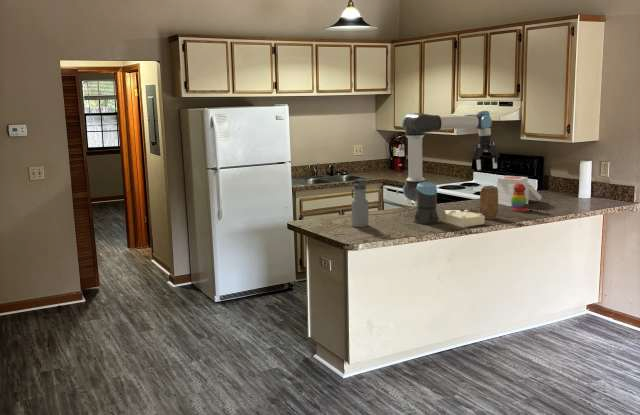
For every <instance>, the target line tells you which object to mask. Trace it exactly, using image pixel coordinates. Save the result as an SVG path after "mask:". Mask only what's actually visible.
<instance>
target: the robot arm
mask: <svg viewBox="0 0 640 415" xmlns="http://www.w3.org/2000/svg"><path fill="white" fill-rule="evenodd" d="M492 123H493V119H492V118H491V115H490V111H489V110H480V111H477V114H463V115H460V116H459V115H456V116H453V115H452V116H441V115H439V114H438V115H437V114H436V115H435V114H428V113H421V112H420V113H419V112H409V113H408V114H406V115H405V116H404V117H403V119H402V122H401V126H402V128H403V130H404V132H405V133H404V134H405V135H404V136H405V137H406V138H407V158H408V159H407V160H408V162H407V163H408V169H407V170H408V174H407V175H408V176H407V178H406V179H405V184H404V185H403V187H402V192H403V195H404V196H405V198H407V200H410V201H412V202H415V203H416V210H415V214H414V216H413V222H414V223H416V224H418V225H419V224H420V225H435V224H438V223H440V217H439V214H438V211H437V209H438V208H437V206H438V205H437V203H438V202H437V201H438V200H437V198H438V189H437V187H438V186H437V185H436V184H435V183H433V182H428V181H426V178H424V177H423V138H424V137H425V134H426V133H433V132H440V131H441V130H461V129H465V130H466V129H478V131H477V132H478V136H479V137H478V142H479V143H476V144H475V151H474V154H473V157H472V159H474V160H475V165H476V169H477V171H481V170H482V164H481V162H482V161H481V157H482V154H483V153H484V151H488V152H489V153H490V155H491V156H492V157H493V158H492V169H498V158H499V157H500V156H501V154H500V151H499V150H498V148H497V146H496V142H494V141H492V135H491V134H492V131H491V130H492V129H491V127H492Z"/></svg>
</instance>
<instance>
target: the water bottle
mask: <svg viewBox="0 0 640 415" xmlns="http://www.w3.org/2000/svg"><path fill="white" fill-rule="evenodd" d="M364 182H365V179H364V178H355V179H354V180H353V183H352V185H353V189H351V198H353V200H352V201H351V226H352V227H354V228H366V226H367V227H368V226H369V200H367V198H366V197H367V196H366V190H367V184H366V183H364Z"/></svg>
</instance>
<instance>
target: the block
mask: <svg viewBox="0 0 640 415" xmlns="http://www.w3.org/2000/svg"><path fill="white" fill-rule="evenodd" d="M479 194H480V195H479V206H480V209H479V213H481V214H482V215H484V216H485V217H484V220H489V221H491V220H492V221H493V220H495V219H496V218H497V216H498V214H499V212H498V211H499V204H498V188H497V186H494V185H484V186H483V187H482V188H481V189H480V193H479Z"/></svg>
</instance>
